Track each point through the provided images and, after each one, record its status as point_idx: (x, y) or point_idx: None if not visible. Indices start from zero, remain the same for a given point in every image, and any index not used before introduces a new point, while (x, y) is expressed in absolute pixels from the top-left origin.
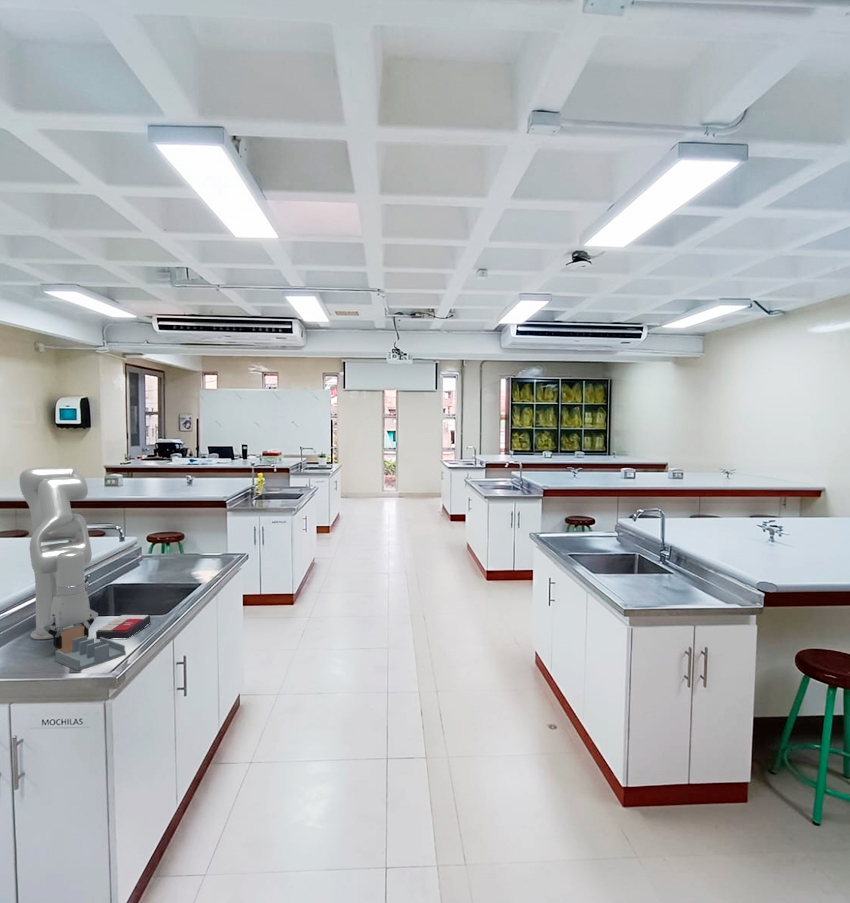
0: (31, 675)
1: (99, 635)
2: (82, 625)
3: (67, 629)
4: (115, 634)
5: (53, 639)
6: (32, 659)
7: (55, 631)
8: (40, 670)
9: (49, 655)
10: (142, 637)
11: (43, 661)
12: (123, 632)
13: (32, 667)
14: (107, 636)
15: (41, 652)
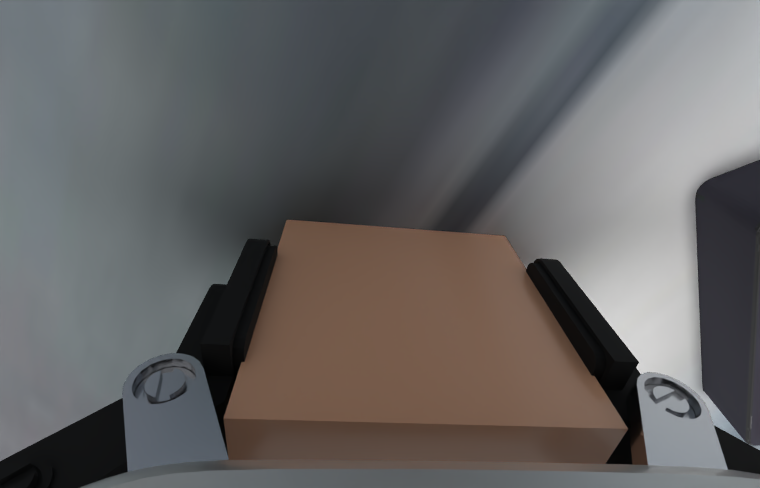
0: (4, 441)
1: (724, 241)
2: (601, 462)
3: (374, 448)
4: (732, 367)
5: (185, 339)
6: (49, 161)
7: (174, 440)
8: (67, 419)
9: (209, 207)
10: (741, 437)
11: (124, 296)
12: (744, 429)
13: (25, 338)
14: (717, 299)
15: (181, 20)
